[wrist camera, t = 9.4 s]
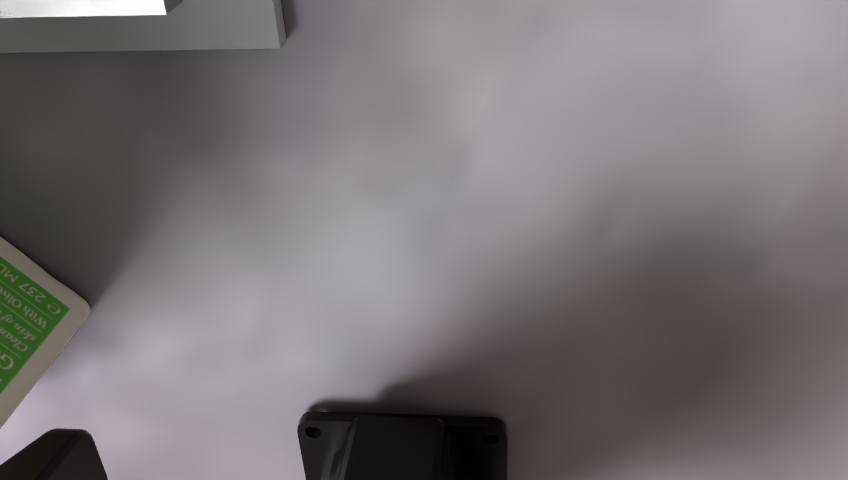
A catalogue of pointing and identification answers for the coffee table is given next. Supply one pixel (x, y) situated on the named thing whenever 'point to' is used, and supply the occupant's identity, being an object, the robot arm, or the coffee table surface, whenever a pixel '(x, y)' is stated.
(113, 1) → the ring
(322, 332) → the coffee table surface
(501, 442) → the robot arm
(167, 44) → the piston base
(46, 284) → the skincare box
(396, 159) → the coffee table surface
